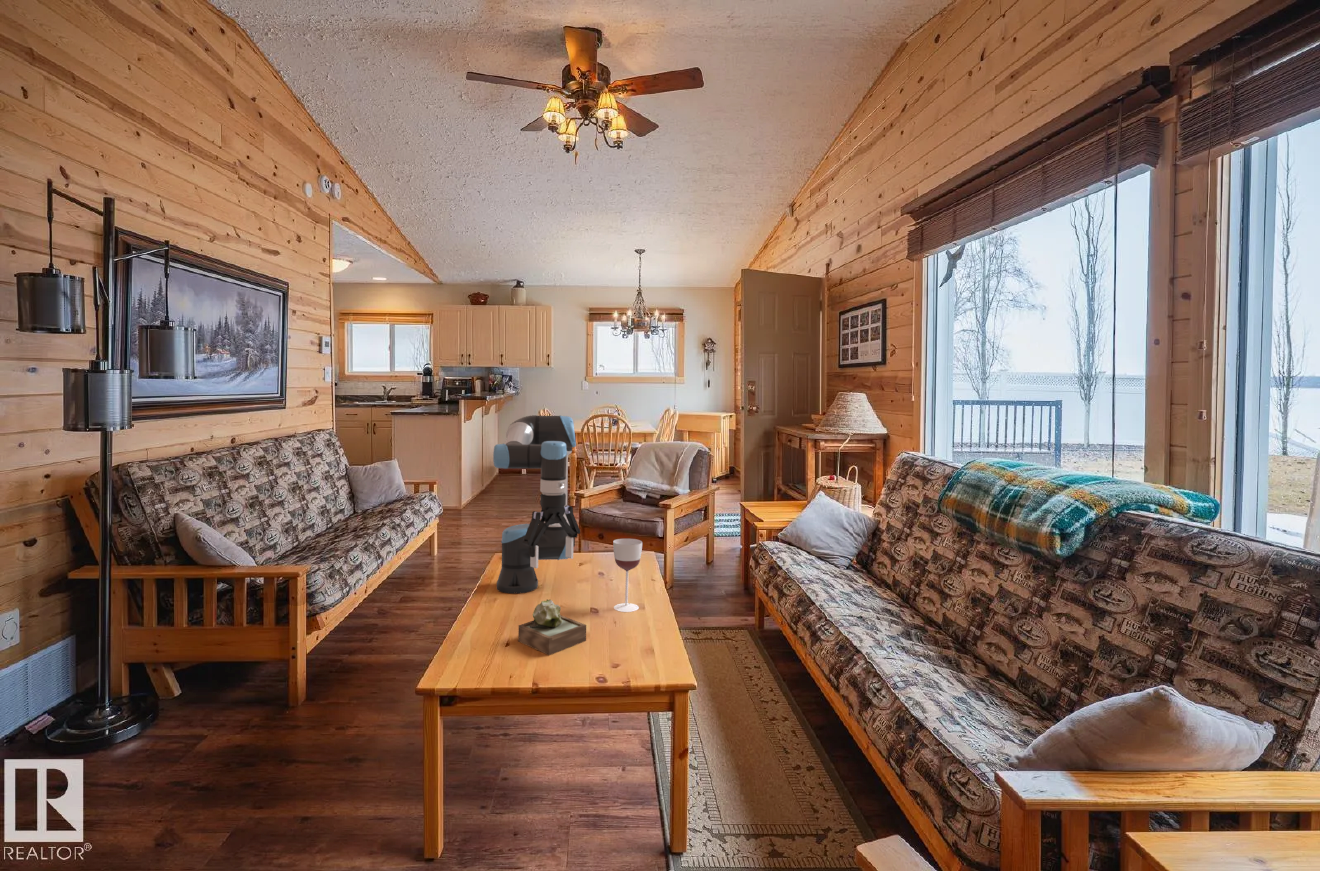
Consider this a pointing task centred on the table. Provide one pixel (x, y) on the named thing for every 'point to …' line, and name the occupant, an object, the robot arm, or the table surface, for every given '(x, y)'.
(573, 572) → the table surface
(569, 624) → the stand
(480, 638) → the table surface
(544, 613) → the fruit
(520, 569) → the robot arm
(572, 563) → the table surface
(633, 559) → the wineglass
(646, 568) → the table surface
